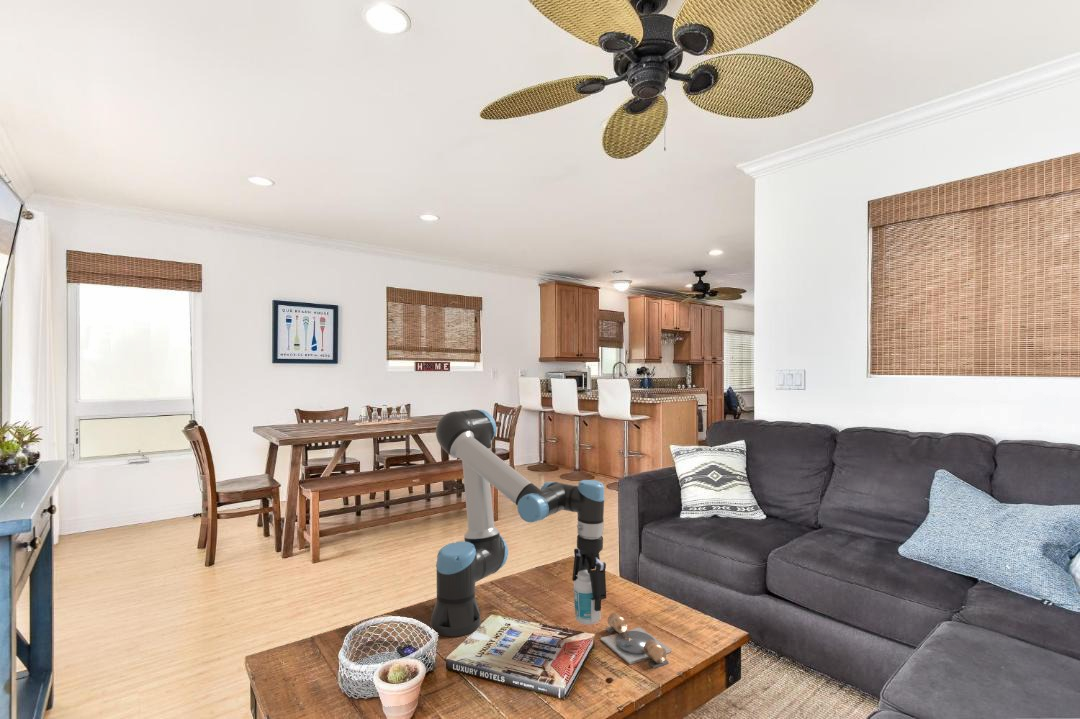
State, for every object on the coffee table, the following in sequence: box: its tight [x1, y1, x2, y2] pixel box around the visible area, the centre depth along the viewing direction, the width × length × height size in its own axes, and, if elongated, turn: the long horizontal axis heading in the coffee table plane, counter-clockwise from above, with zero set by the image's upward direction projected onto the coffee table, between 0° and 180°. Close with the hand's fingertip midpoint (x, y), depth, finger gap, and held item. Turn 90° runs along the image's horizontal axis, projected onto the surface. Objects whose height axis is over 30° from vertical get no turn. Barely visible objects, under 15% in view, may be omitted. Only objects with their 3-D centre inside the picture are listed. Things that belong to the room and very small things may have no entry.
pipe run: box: [600, 612, 672, 669], centre depth 147 cm, size 22×14×5 cm, turn 26°
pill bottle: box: [573, 570, 602, 625], centre depth 150 cm, size 8×7×14 cm
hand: (587, 614), depth 150 cm, fingers closed on pill bottle, 7 cm apart
